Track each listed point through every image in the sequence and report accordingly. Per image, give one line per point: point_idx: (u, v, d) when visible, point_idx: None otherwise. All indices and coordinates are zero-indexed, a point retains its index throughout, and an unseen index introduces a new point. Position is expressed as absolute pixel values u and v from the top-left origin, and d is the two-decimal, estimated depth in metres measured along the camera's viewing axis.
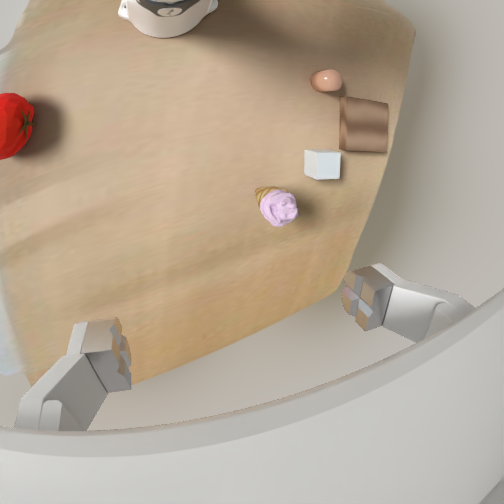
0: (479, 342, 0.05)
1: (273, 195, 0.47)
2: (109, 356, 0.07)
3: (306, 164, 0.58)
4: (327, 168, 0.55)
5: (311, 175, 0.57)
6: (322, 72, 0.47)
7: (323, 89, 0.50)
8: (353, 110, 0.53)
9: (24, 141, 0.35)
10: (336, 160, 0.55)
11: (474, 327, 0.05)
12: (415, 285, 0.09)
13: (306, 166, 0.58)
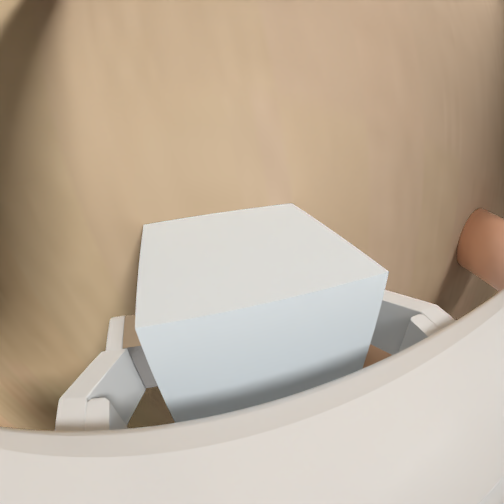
0: (479, 342, 0.05)
1: None
2: None
3: (214, 223, 0.09)
4: (258, 382, 0.06)
5: (154, 267, 0.07)
6: None
7: (494, 246, 0.13)
8: None
9: None
10: None
11: (474, 327, 0.05)
12: (390, 294, 0.08)
13: (201, 225, 0.09)
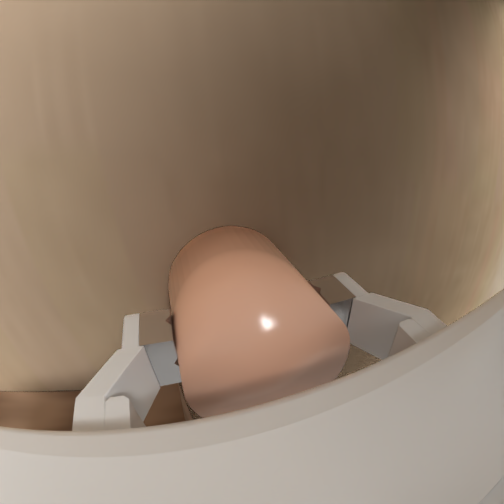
0: (479, 342, 0.05)
1: None
2: (169, 347, 0.07)
3: None
4: None
5: None
6: None
7: (177, 318, 0.08)
8: None
9: None
10: None
11: (474, 327, 0.05)
12: (379, 298, 0.08)
13: None
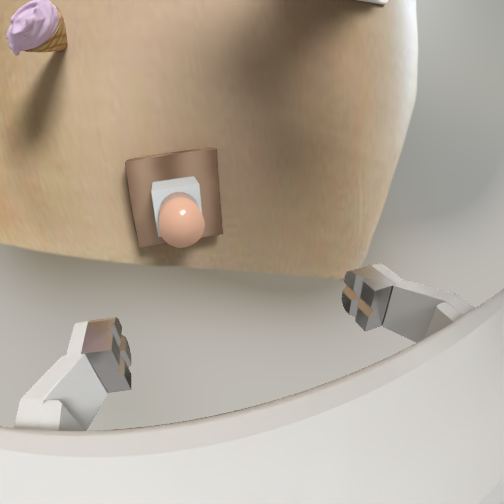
0: (479, 342, 0.05)
1: (51, 4, 0.14)
2: (109, 356, 0.07)
3: (170, 180, 0.35)
4: None
5: (155, 187, 0.32)
6: (193, 204, 0.28)
7: (159, 214, 0.29)
8: (195, 163, 0.36)
9: None
10: None
11: (474, 327, 0.05)
12: (415, 285, 0.09)
13: (167, 181, 0.35)
